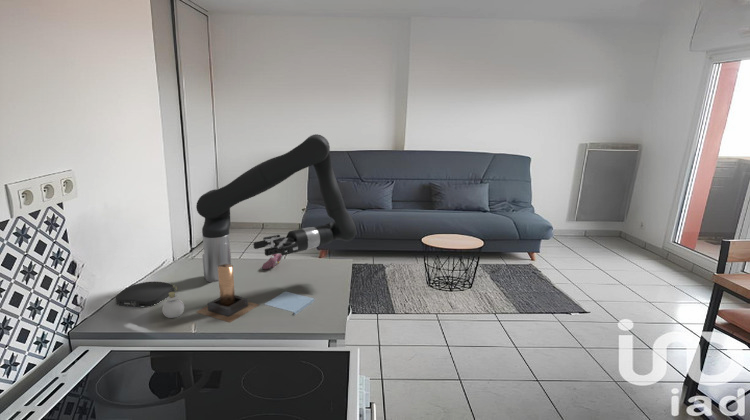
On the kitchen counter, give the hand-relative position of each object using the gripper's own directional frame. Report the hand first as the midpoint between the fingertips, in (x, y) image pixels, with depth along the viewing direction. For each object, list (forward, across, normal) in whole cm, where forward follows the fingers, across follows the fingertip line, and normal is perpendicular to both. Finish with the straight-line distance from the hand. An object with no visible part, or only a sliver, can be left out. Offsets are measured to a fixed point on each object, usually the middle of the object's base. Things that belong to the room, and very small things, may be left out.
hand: (259, 249), depth 139 cm
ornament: (+26, -7, +18) cm, 32 cm away
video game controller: (-17, -28, +19) cm, 38 cm away
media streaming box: (+30, -27, +18) cm, 44 cm away
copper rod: (+12, 0, +17) cm, 21 cm away
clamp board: (+12, 0, +18) cm, 22 cm away
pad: (-6, +7, +19) cm, 21 cm away
